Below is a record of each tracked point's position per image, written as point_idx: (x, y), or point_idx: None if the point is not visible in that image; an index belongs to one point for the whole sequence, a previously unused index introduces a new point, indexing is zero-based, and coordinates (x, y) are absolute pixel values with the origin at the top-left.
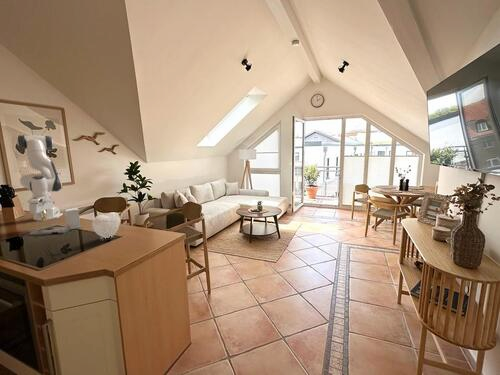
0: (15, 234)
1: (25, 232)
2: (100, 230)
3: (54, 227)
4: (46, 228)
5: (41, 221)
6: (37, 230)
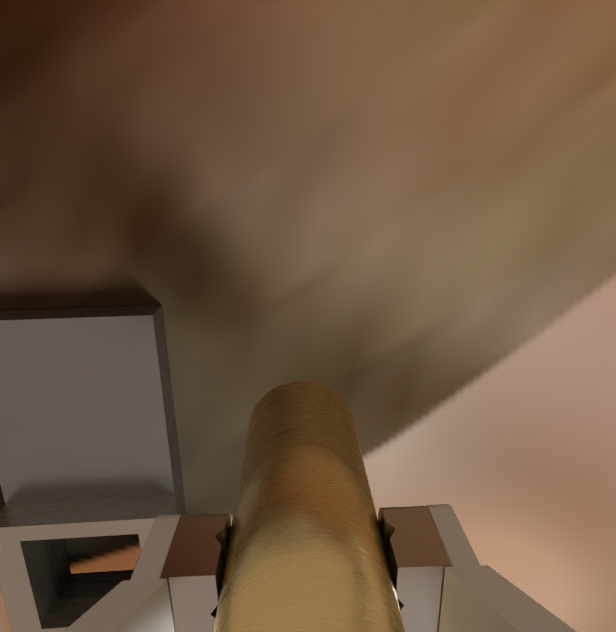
0: (6, 10)
1: (135, 127)
2: None
3: None
4: (117, 522)
5: (252, 419)
6: (122, 361)
